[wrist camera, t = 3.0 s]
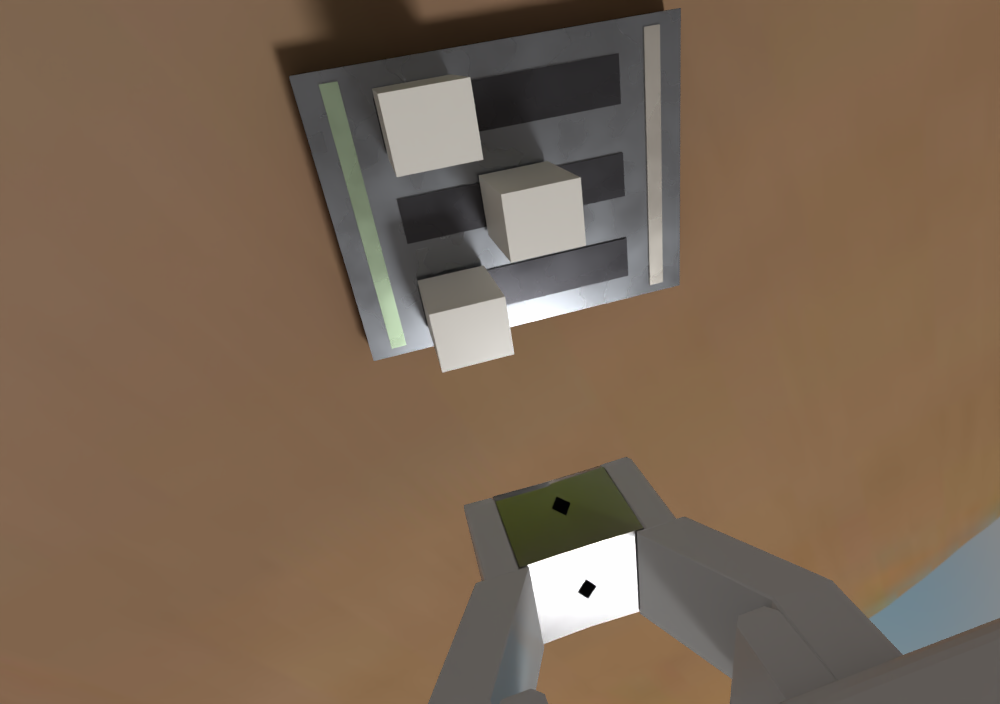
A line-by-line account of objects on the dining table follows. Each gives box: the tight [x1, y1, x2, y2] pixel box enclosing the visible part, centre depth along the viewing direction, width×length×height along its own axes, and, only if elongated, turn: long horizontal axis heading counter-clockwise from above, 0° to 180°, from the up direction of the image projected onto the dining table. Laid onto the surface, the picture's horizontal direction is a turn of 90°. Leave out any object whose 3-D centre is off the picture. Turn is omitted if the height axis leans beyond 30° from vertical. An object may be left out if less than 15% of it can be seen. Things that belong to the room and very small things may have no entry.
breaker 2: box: [418, 265, 514, 372], centre depth 28 cm, size 4×3×4 cm
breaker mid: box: [478, 161, 586, 263], centre depth 26 cm, size 4×3×4 cm
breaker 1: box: [372, 74, 483, 177], centre depth 24 cm, size 4×3×4 cm
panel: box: [289, 8, 681, 361], centre depth 29 cm, size 18×14×2 cm
